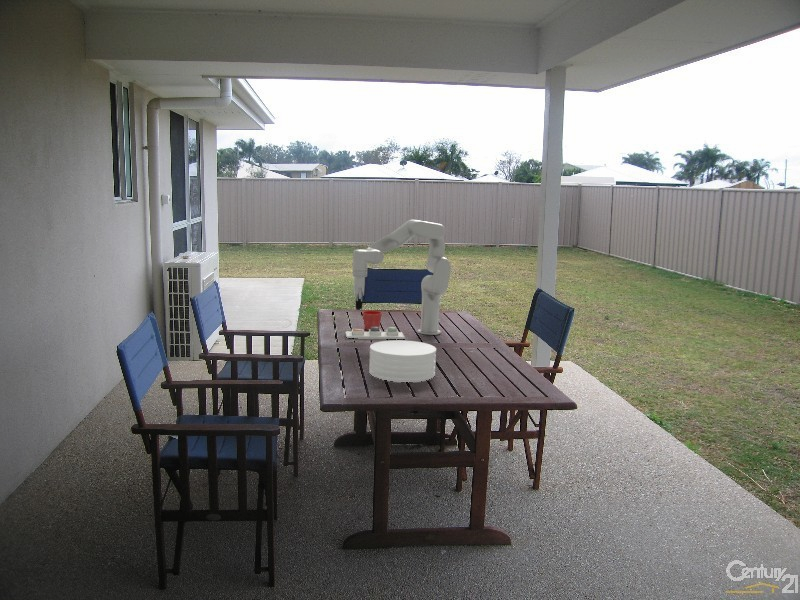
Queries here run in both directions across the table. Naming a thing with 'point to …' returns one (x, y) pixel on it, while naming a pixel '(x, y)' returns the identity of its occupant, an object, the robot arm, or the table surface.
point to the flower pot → (371, 319)
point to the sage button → (391, 329)
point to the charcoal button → (374, 328)
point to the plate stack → (402, 361)
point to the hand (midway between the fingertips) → (358, 308)
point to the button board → (374, 334)
